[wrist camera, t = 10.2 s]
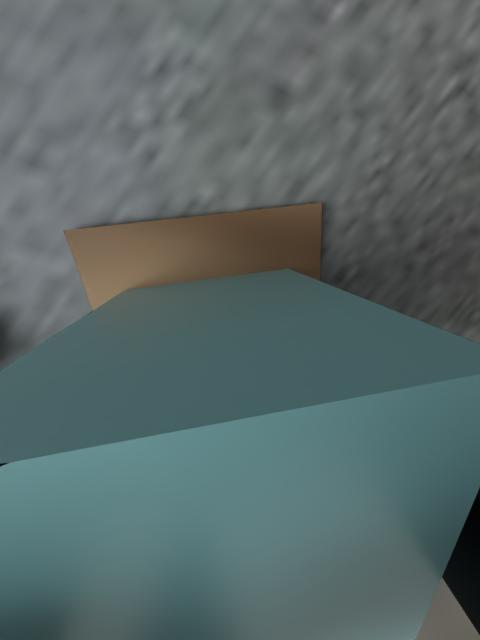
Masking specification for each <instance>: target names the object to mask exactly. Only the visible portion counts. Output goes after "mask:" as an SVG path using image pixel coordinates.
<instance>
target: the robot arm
mask: <svg viewBox="0 0 480 640" xmlns="http://www.w3.org/2000/svg"><path fill="white" fill-rule="evenodd" d="M442 578H443V579H444V581H445V583H446V584H447V586H448V587H449V588H450V590H451V592H452V593H453V595H454V596H455V598H456V599H457V601H458V602H459V604H460V605H461V607H462V609H463V610H464V611H465V613H466V615H467V616H468V618H469V619H470V621H471V622H472V624H473V626H474V627H475V629H476V630H477V632H478V633H479V635H480V488H479V490H478V493H477V495H476V497H475V500H474V502H473V504H472V507H471V509H470V511H469V514H468V516H467V519H466V521H465V523H464V526H463V528H462V530H461V533H460V535H459V538H458V540H457V542H456V545H455V547H454V549H453V552H452V554H451V557H450V559H449V561H448V564H447V566H446V568H445V571H444V573H443V575H442Z"/></svg>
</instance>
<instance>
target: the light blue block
mask: <svg viewBox="0 0 480 640" xmlns="http://www.w3.org/2000/svg"><path fill="white" fill-rule="evenodd" d="M479 488H480V344H478V343H475V342H473V341H470V340H468V339H465V338H463V337H460V336H458V335H455V334H453V333H450V332H448V331H445V330H442V329H440V328H437V327H435V326H432V325H430V324H427V323H425V322H422V321H420V320H417V319H415V318H412V317H410V316H407V315H404V314H402V313H399V312H397V311H394V310H392V309H389V308H387V307H384V306H382V305H379V304H377V303H374V302H372V301H369V300H367V299H364V298H361V297H359V296H356V295H354V294H351V293H349V292H346V291H344V290H341V289H339V288H336V287H334V286H331V285H329V284H326V283H323V282H321V281H318V280H316V279H313V278H311V277H308V276H306V275H303V274H301V273H298V272H296V271H293V270H291V269H282V270H274V271H267V272H259V273H251V274H244V275H236V276H229V277H221V278H213V279H206V280H198V281H190V282H183V283H175V284H168V285H160V286H152V287H145V288H137V289H129V290H124V291H123V292H121V293H120V294H118V295H117V296H115V297H114V298H112V299H110V300H109V301H107V302H106V303H104V304H103V305H101V306H100V307H98V308H96V309H95V310H93V311H92V312H90V313H89V314H87V315H86V316H84V317H82V318H81V319H79V320H78V321H76V322H75V323H73V324H72V325H70V326H68V327H67V328H65V329H64V330H62V331H61V332H59V333H58V334H56V335H54V336H53V337H51V338H50V339H48V340H47V341H45V342H44V343H42V344H40V345H39V346H37V347H36V348H34V349H33V350H31V351H30V352H28V353H26V354H25V355H23V356H22V357H20V358H19V359H17V360H16V361H14V362H12V363H11V364H9V365H8V366H6V367H5V368H3V369H2V370H0V640H415V639H416V637H417V634H418V632H419V630H420V628H421V625H422V623H423V620H424V618H425V616H426V613H427V611H428V608H429V606H430V604H431V601H432V599H433V597H434V594H435V592H436V590H437V587H438V585H439V583H440V580H441V578H442V575H443V573H444V571H445V568H446V566H447V564H448V561H449V559H450V557H451V554H452V552H453V549H454V547H455V545H456V542H457V540H458V538H459V535H460V533H461V530H462V528H463V526H464V523H465V521H466V519H467V516H468V514H469V511H470V509H471V507H472V504H473V502H474V500H475V497H476V495H477V493H478V490H479Z"/></svg>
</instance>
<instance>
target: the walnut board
mask: <svg viewBox="0 0 480 640" xmlns="http://www.w3.org/2000/svg"><path fill="white" fill-rule="evenodd" d="M321 218H322V203H313V204H303V205H294V206H285V207H276V208H266V209H257V210H248V211H239V212H230V213H220V214H211V215H202V216H193V217H184V218H174V219H165V220H156V221H147V222H138V223H128V224H119V225H110V226H101V227H92V228H82V229H73V230H64V233H65V236H66V239H67V242H68V244H69V247H70V250H71V252H72V255H73V258H74V261H75V263H76V266H77V269H78V272H79V274H80V277H81V280H82V283H83V285H84V288H85V291H86V293H87V296H88V299H89V302H90V304H91V307H92V310H95V309H96V308H98V307H100V306H101V305H103V304H104V303H106V302H107V301H109V300H110V299H112V298H114V297H115V296H117V295H118V294H120V293H121V292H123V291H124V290H129V289H137V288H145V287H152V286H160V285H168V284H175V283H183V282H190V281H198V280H206V279H213V278H221V277H229V276H236V275H244V274H251V273H259V272H267V271H274V270H282V269H291V270H293V271H296V272H298V273H301V274H303V275H306V276H308V277H311V278H313V279H316V280H318V281H320V267H321Z"/></svg>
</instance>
